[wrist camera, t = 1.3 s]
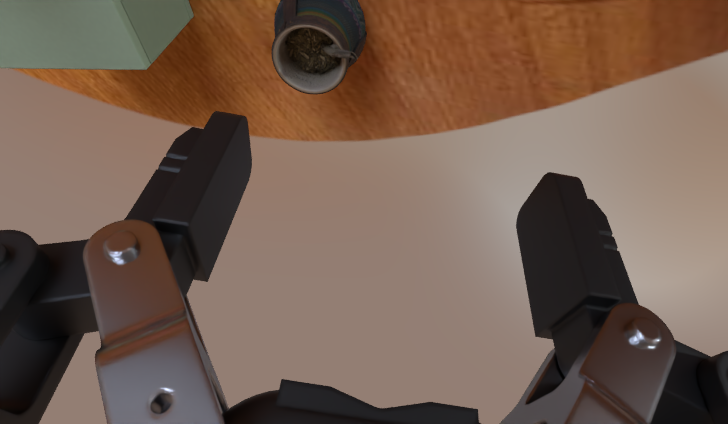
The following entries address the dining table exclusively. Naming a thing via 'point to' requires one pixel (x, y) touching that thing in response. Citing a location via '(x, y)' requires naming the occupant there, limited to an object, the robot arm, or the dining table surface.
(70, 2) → the chest lid
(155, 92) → the dining table surface
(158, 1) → the box
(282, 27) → the mate gourd
